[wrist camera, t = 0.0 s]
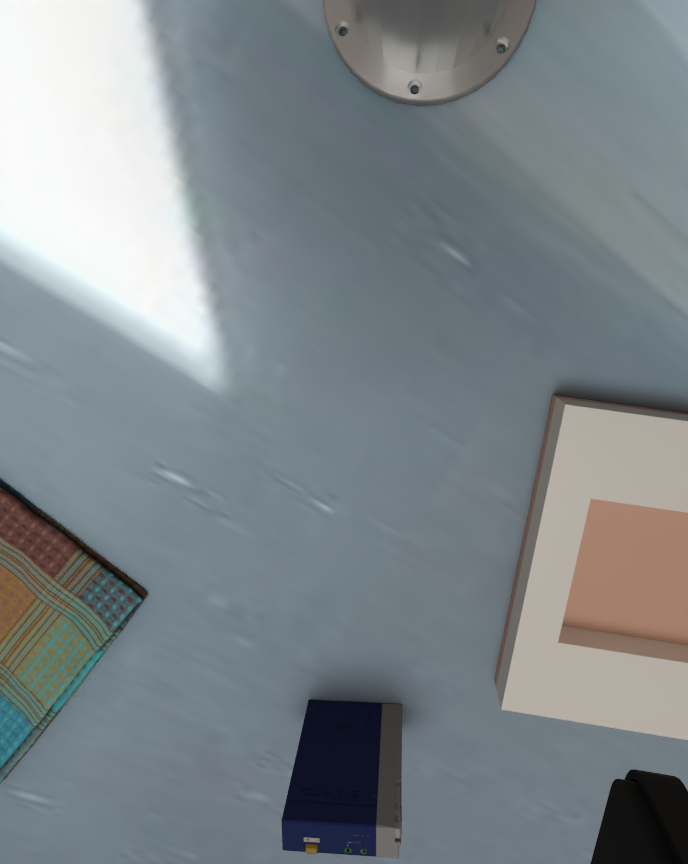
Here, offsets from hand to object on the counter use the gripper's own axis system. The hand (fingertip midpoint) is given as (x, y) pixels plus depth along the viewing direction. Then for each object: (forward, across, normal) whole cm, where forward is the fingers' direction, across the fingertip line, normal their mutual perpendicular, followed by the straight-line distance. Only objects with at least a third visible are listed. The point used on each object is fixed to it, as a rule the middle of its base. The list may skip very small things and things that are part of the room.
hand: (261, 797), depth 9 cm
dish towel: (+38, +28, +24) cm, 53 cm away
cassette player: (+37, -2, +26) cm, 45 cm away
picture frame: (+37, -20, +10) cm, 43 cm away
